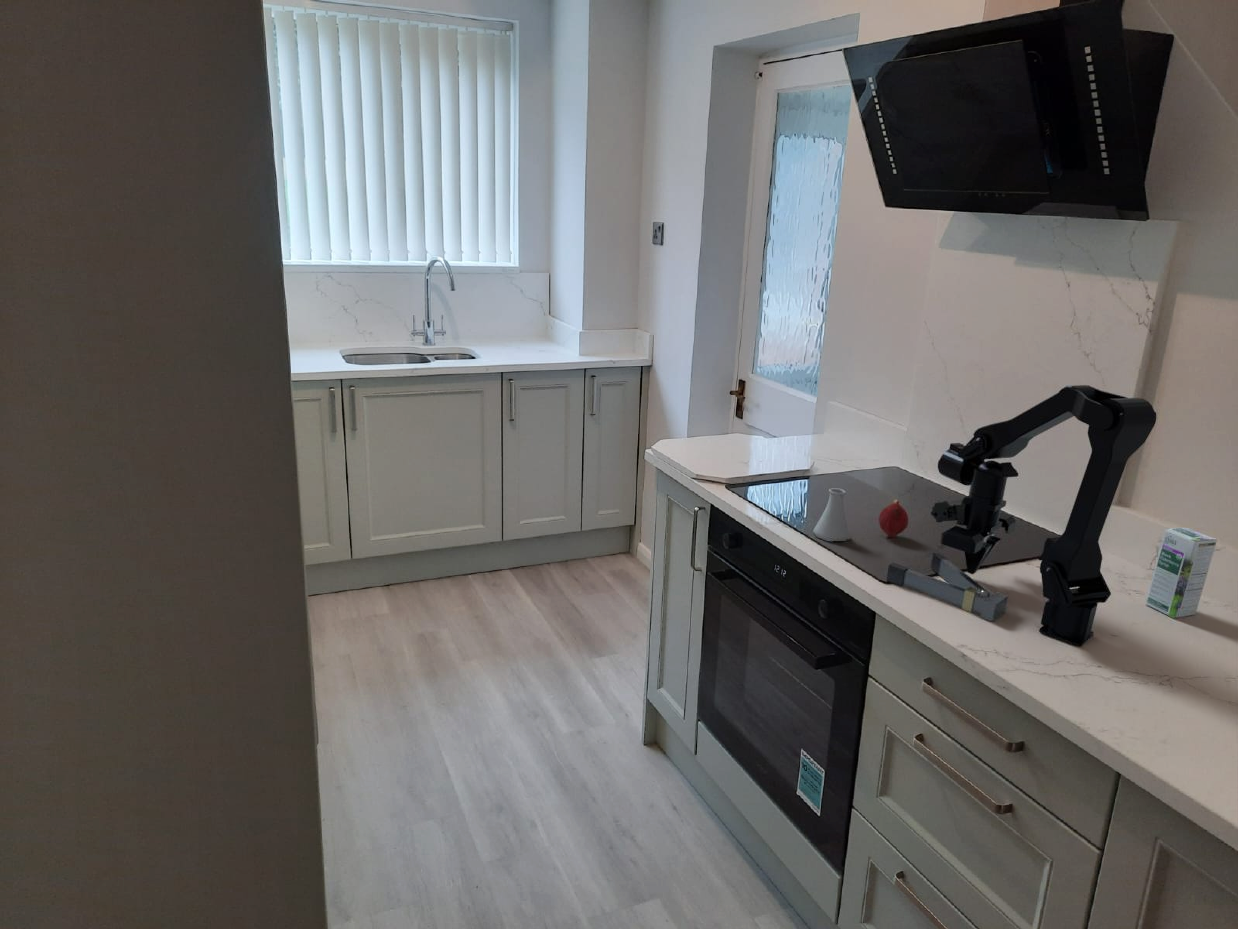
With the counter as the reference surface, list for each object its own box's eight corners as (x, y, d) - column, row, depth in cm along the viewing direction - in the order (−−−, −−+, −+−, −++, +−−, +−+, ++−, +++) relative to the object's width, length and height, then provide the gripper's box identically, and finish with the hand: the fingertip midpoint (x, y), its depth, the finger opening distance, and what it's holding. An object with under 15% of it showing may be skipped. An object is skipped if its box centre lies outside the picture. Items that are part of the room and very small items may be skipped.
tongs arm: (990, 609, 145) (993, 592, 144) (980, 610, 145) (984, 593, 144) (938, 567, 162) (941, 552, 161) (929, 567, 161) (932, 552, 160)
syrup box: (1143, 604, 151) (1163, 528, 147) (1167, 600, 153) (1187, 525, 149) (1173, 619, 146) (1194, 541, 142) (1197, 615, 148) (1219, 538, 144)
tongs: (1004, 612, 145) (1008, 593, 144) (992, 622, 141) (996, 602, 140) (898, 574, 158) (901, 556, 157) (884, 581, 155) (887, 563, 154)
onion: (906, 543, 173) (912, 506, 171) (877, 540, 174) (883, 503, 172) (903, 533, 179) (909, 497, 176) (875, 530, 180) (880, 494, 177)
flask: (856, 541, 173) (863, 495, 170) (826, 544, 170) (833, 498, 167) (835, 528, 180) (841, 483, 176) (806, 531, 177) (812, 486, 174)
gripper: (965, 473, 165) (951, 547, 170) (920, 492, 152) (906, 571, 157) (1023, 488, 157) (1008, 565, 162) (981, 509, 145) (965, 592, 149)
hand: (971, 573), depth 158 cm, fingers closed
